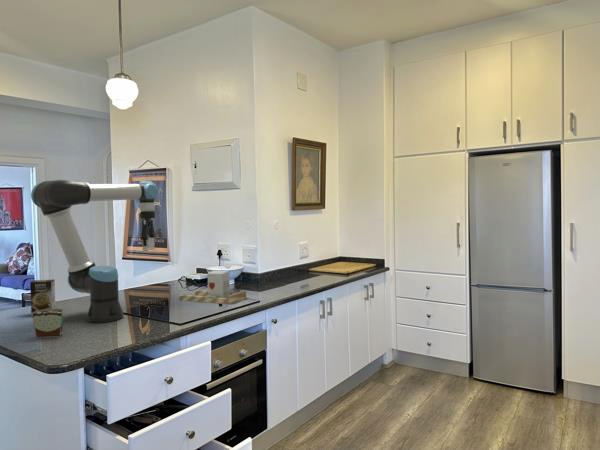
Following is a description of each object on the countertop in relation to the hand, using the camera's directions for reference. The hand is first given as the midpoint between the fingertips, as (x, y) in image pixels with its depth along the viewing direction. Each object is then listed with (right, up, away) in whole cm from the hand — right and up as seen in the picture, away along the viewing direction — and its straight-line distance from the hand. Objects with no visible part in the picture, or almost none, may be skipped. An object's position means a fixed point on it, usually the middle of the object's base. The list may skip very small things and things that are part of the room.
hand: (148, 251), depth 234 cm
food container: (-18, -30, -59) cm, 69 cm away
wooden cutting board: (+34, -26, +5) cm, 43 cm away
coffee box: (-42, -29, -24) cm, 56 cm away
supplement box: (+37, -26, +1) cm, 45 cm away
